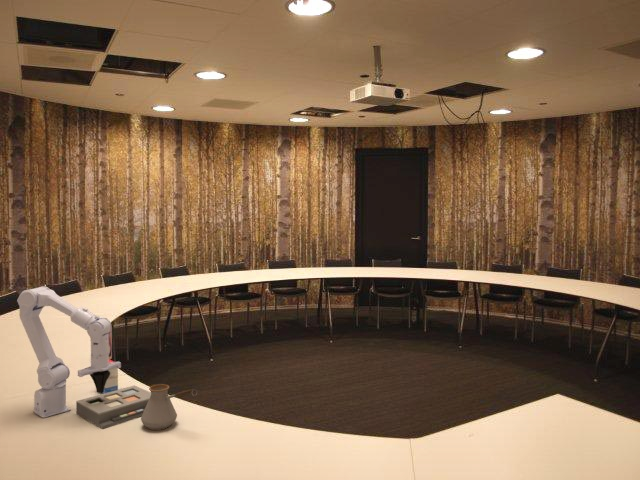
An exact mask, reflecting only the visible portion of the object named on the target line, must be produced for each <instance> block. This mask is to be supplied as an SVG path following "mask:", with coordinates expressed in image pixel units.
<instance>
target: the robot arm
mask: <svg viewBox="0 0 640 480" xmlns="http://www.w3.org/2000/svg"><path fill="white" fill-rule="evenodd" d="M16 302H17V304H18V306H19V319H20V322H21V323H22V327H23V328H24V330H25V333H26V335H27V337H28V339H29V343H30V344H31V346H32V349H33V351H34V354H35V356H36V358H37V361H38V366H37V368H36V373H37V382H38V385H39V386H40V388H39V389H36V390H35V392H34V395H33V396H34V398H33V400H34V401H33V402H34V404H33V405H34V407H33V408H34V410H33V413H34V414H36V415H38V416H39V417H41V418H47V417H52V416H55V415H58V414H63V413H66V412H69V411H71V410H72V409H71V408H70V407H68V406H67V395H66V394H67V389H66V388H67V379H69V377H70V374H71V370H70V368H69V366H68V365H66V363H64V360H63V358H61V357H58V356H56V353H55V351H54V348H53V346H52V343H51V341H50V339H49V336H48V335H47V332H46V330H45V327H44V325H43V322H42V320H41V318H40V314H41V313H42V310H43V308H45V307H51V308H53V309H55V310H57V311H59V312H61V313H63V314H64V315H66V316H68V317H70V321H71V323H74V324H75V325H77V326H79V327H80V328H81V329H84V330H85V331H86V333H87V334H88V336H89V337H90V338H89V339H90V366H86V368H82V369H79V370H77V377H79V378H83V377H85V376H90V378H91V379H92V381H93V384H94V386H95V391H96V393H98V394H103V391H104V387H105V384H106V381H107V379H108V377H109V376H110V372H109V371H108V370H111V369H115V368H118V369H120V368H122V363H121V362H122V361H121V362H120V361H114V362H112V363H109V332H110V330H111V327H112V326H113V325H112V322H111V321H110V320H109V319H108V318H107V317H100V316H99V315H98V314H97V315H95V314H93V313H92V312H90V311H89V309H88V308H87V307H82V306H80V307H75V305H73V304H71V303H70V302H68V301H67V300H66V299H64V298H63V297H61V296H60V295H58V294H57V293H56V292H55V290H53V289H50V288H49V287H47V286H44V285H42V286H39V287H35V288H30V289H25V290H23V291H21V292H20V294H19V296H18V298H17V300H16ZM112 328H113V327H112ZM107 333H108V334H107ZM105 334H106V335H105Z"/></svg>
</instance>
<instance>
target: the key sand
mask: <svg viewBox="0 0 640 480" xmlns="http://www.w3.org/2000/svg"><path fill="white" fill-rule="evenodd" d="M118 397H121V396H118V395H112V396H108V397H106V398H108V399H110V400H111V399H115V398H118ZM115 402H116V401H115ZM117 402H118V401H117ZM111 403H112V402H111ZM108 404H109V403H108Z"/></svg>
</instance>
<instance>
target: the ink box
mask: <svg viewBox="0 0 640 480" xmlns="http://www.w3.org/2000/svg"><path fill="white" fill-rule="evenodd" d="M112 362H115V361H113V360H111V359H110V360H109V363H112ZM108 371H109V372H110V376H109V377H108V379H107V381H106V384H105V387H104V391H103V393H102V394H104V393H108V392H112V391H116V390H119V373H118V372H119V368H115V369H111V370H108Z"/></svg>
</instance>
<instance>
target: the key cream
mask: <svg viewBox="0 0 640 480" xmlns="http://www.w3.org/2000/svg"><path fill="white" fill-rule="evenodd" d="M120 404H121V403H119V402H117V401H116V402H112V403H109V404H106V405H108V406H110V407H113V406H116V405H120Z"/></svg>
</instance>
